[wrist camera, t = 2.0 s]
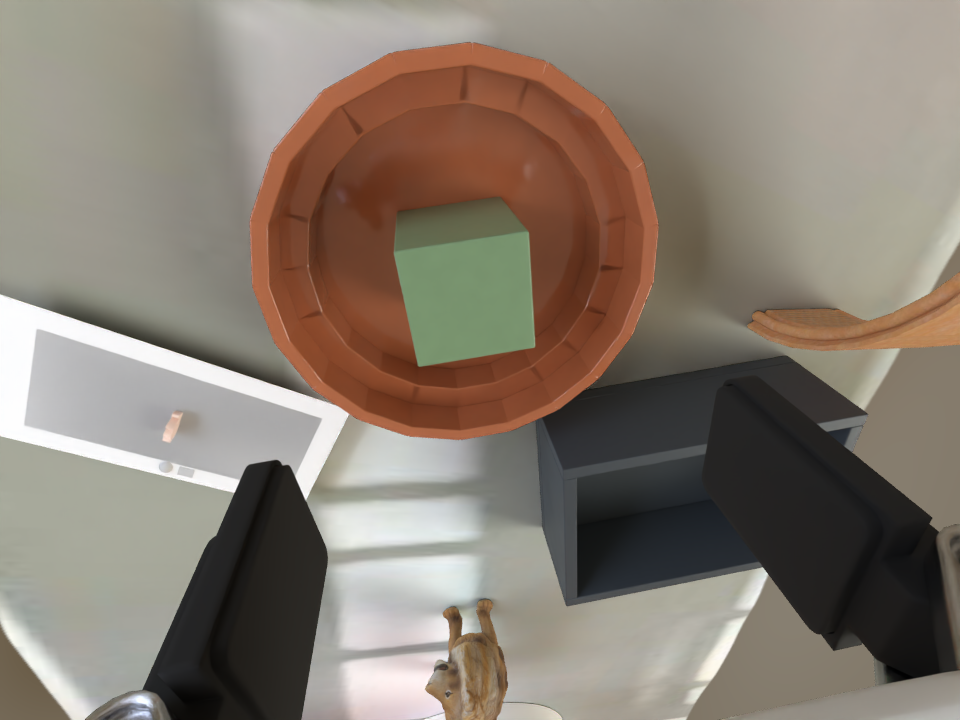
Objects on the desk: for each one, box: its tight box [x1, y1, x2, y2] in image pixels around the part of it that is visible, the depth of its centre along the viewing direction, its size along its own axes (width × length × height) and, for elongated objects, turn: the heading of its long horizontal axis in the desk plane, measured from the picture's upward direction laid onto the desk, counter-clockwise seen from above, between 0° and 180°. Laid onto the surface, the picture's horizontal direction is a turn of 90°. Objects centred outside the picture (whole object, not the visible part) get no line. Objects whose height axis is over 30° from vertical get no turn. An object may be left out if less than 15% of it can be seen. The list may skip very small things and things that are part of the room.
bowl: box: [250, 42, 659, 440], centre depth 20 cm, size 16×16×4 cm
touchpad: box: [0, 294, 349, 500], centre depth 23 cm, size 8×15×2 cm, turn 61°
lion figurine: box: [425, 599, 508, 720], centre depth 34 cm, size 15×5×9 cm, turn 4°
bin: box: [536, 356, 868, 606], centre depth 28 cm, size 11×15×6 cm
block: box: [394, 197, 535, 367], centre depth 19 cm, size 5×5×6 cm
